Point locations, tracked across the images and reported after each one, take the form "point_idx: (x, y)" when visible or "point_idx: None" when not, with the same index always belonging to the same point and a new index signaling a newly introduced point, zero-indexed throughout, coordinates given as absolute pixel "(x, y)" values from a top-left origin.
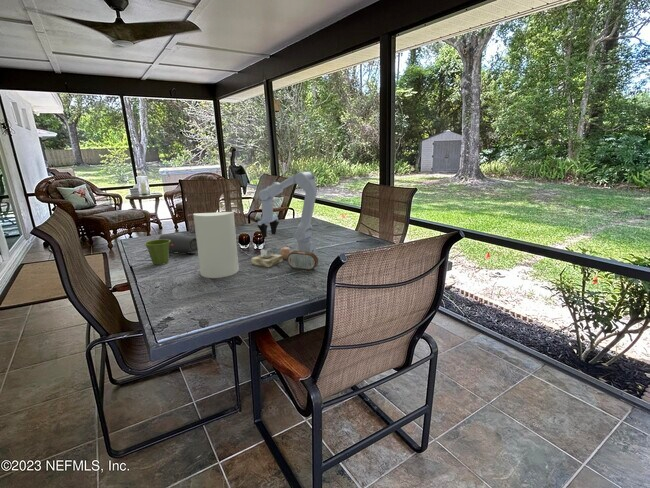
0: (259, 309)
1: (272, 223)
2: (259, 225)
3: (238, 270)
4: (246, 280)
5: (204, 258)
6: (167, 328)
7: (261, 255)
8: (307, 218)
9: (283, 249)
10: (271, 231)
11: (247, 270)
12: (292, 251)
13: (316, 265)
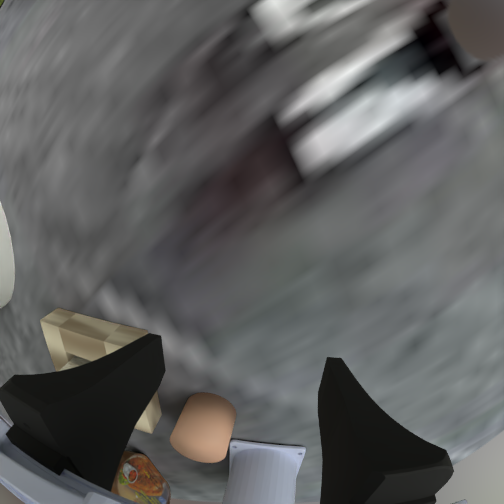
0: (5, 417)
1: (338, 500)
2: (17, 419)
3: (8, 301)
4: (7, 362)
5: None
6: None
7: (67, 366)
8: None
9: (178, 445)
10: (332, 377)
11: (25, 330)
12: (117, 492)
13: (167, 499)
